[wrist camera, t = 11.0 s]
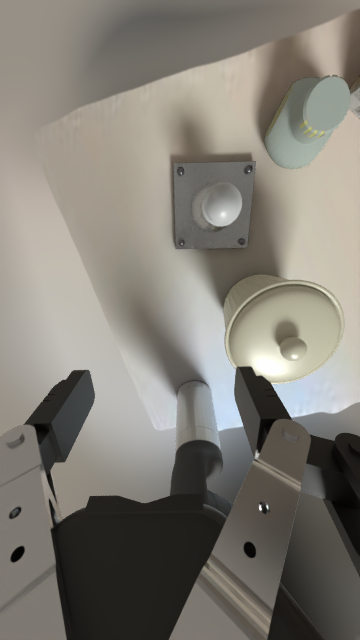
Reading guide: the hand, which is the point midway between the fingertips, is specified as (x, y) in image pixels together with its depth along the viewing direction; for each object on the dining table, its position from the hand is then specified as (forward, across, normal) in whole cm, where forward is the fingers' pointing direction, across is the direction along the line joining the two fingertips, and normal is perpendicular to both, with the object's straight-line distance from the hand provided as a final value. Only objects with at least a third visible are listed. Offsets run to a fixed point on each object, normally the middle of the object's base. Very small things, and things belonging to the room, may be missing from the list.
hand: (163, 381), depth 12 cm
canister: (+37, -17, +8) cm, 42 cm away
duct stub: (+34, -8, -11) cm, 37 cm away
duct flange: (+37, -7, -11) cm, 39 cm away
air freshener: (+36, -20, -22) cm, 47 cm away
